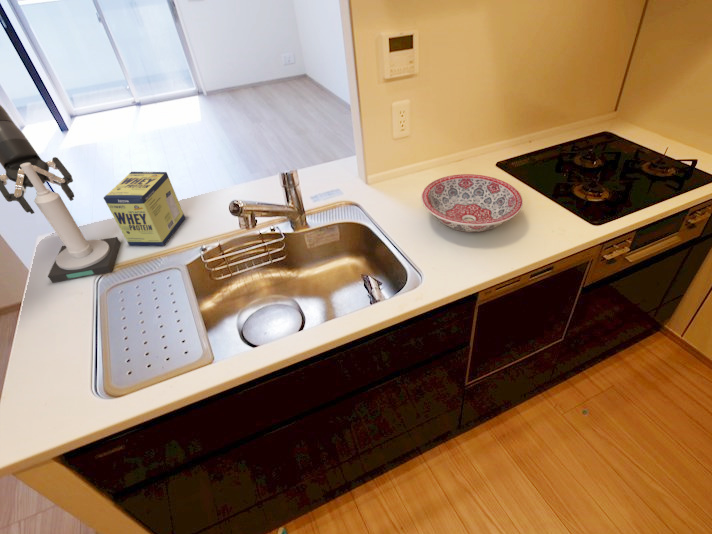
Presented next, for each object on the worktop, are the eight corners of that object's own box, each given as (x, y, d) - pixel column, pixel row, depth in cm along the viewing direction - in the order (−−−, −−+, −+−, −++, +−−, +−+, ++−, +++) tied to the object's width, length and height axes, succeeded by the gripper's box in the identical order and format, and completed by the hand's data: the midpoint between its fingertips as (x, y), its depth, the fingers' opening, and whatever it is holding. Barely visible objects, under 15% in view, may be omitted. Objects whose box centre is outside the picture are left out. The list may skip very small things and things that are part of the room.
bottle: (97, 247, 116) (43, 159, 99) (85, 259, 112) (27, 169, 95) (79, 246, 116) (23, 159, 99) (66, 258, 112) (6, 169, 95)
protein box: (128, 246, 121) (101, 197, 111) (153, 217, 133) (131, 170, 122) (164, 246, 121) (141, 197, 110) (186, 217, 132) (167, 170, 122)
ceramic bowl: (536, 238, 122) (542, 213, 116) (441, 257, 116) (443, 232, 110) (491, 190, 142) (494, 168, 137) (408, 205, 136) (408, 181, 131)
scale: (52, 283, 110) (45, 274, 108) (66, 252, 120) (60, 243, 118) (111, 272, 113) (106, 263, 111) (120, 243, 123) (115, 234, 120)
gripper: (-32, 147, 94) (14, 211, 96) (41, 129, 102) (82, 188, 104) (-21, 163, 101) (22, 222, 103) (47, 145, 108) (86, 200, 110)
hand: (52, 205), depth 103 cm, fingers open, 8 cm apart
